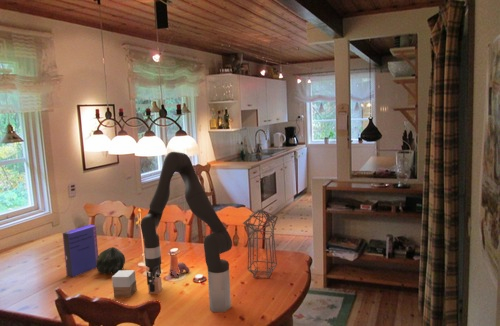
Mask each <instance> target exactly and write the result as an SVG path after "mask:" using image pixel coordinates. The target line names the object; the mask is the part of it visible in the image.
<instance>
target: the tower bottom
mask: <svg viewBox="0 0 500 326" xmlns="http://www.w3.org/2000/svg"><path fill="white" fill-rule="evenodd" d="M112 288H113V289H112V290H113V296H114V297H113V298H131V297H132V296H133V295H134V294H135V292H136V291H137V279H136V280H135V282H134V283H133V284H132V285H131V286H130V287H113V286H112Z"/></svg>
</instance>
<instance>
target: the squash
mask: <svg viewBox="0 0 500 326" xmlns="http://www.w3.org/2000/svg"><path fill="white" fill-rule="evenodd" d="M125 263H126V258H125V254H124V253H123V252H122V251H121V250H119V249H118V248H117V247H115V246H114V247H109V248H107V249H105V250H103V251H101V252H100V253H98V258H97V261H96V266H97V268H96V269H97V271H98V273H100V274H102V275H103V274H106V275H107V274H109V275H110V274H113V275H115V274H116V273H117V272H118V271H119V270H123V269H124V266H125Z"/></svg>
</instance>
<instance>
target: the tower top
mask: <svg viewBox="0 0 500 326" xmlns="http://www.w3.org/2000/svg"><path fill="white" fill-rule="evenodd" d="M135 280H136V281H137V279H136V270H135V269H134V270H133V269H131V270H130V269H129V270H127V269H126V270H123V269H122V270H119V271H118V272H117V273H116V274H113V275H112V276H111V282H112V288H113V287H130V286H131V285H132V284H133V283H134V282H135Z"/></svg>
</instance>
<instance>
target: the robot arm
mask: <svg viewBox="0 0 500 326" xmlns="http://www.w3.org/2000/svg"><path fill="white" fill-rule="evenodd" d="M175 173H178V174H179V175H180V177H181V179H182V180H183V183H184V187H185V188H184V197H185V201H186V203H187V205H188V207H189V209H190V211H191V212H192V214H193V215H195V216H196V217H197V218H198V219H199V220H201V221H202V222H203V223H205V224H206V225H207V226H208V228H210V230H211V231H212V233H209V234H207V235H205V237H204V239H203V250H204V259H205V263H206V267H207V281H208V301H209V309H210V310H211V313H226V312H227V311H228V310H230V309H231V307H232V301H231V300H232V299H231V298H232V297H231V296H232V295H231V282H230V281H231V280H230V279H231V278H230V263H229V261H228V260H226V259H222V258H221V254H225V253H227V252H229V251H230V250H231V249H232V247H233V239H232V238H231V235H230V234H229V232H228V230H227V228H226V227H225V225H224V223H223V222H222V221H221V219H220V217H219V216H218V214H217V212H216V210H215V208H214V207H213V205H212V203H211V201H210V199H209V197H208V195H207V193H206V191H205V190H204V187H203V186H202V183H201V182H200V179H199V178H198V175H197V173H196V171H195V168H194V166H193V163H192V161H191V158H190V157H189V156H188V154H186V153H185V152H178V151H170V152H169V153H167V154H166V156H165V157H164V160H163V163H162V168H161V171H160V175H159V180H158V183H157V186H156V188H155V191H154V193H153V196H152V198H151V201H150V204H149V209H148V212H147V214H146V215H144V217H142V218H141V221H140V230H141V234H142V236H143V242H144V265H145V267H147V268H148V271H147V272H146V283H147V284H146V285H147V286H148V285H149V286H150V292H154V291H155V285H154V283H155V280H156V277H161V274H162V267H161V265H162V251H161V245H160V237H159V234H158V233H157V230H156V227H158V225H159V224H160V222H161V220H162V217H163V214H164V211H165V208H166V206H167V204H168V202H169V198H170V194H171V191H170V190H171V181H172V178H173V176H174V175H175Z"/></svg>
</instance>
